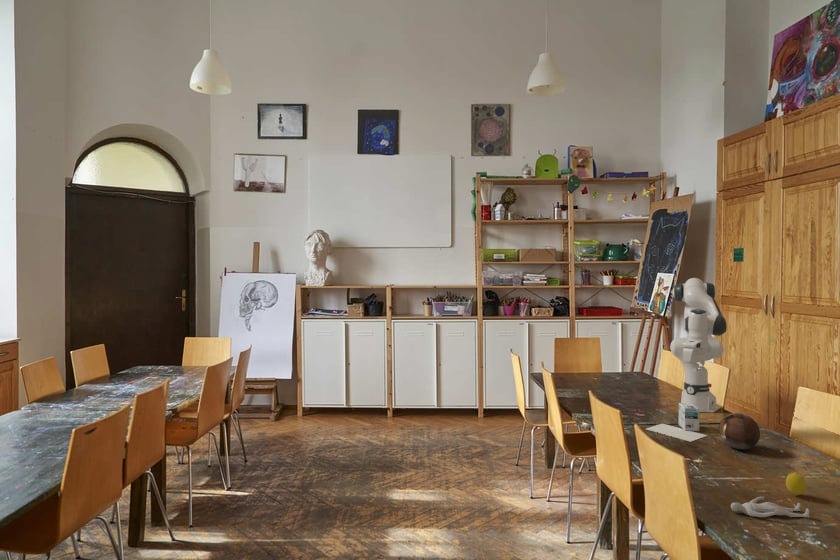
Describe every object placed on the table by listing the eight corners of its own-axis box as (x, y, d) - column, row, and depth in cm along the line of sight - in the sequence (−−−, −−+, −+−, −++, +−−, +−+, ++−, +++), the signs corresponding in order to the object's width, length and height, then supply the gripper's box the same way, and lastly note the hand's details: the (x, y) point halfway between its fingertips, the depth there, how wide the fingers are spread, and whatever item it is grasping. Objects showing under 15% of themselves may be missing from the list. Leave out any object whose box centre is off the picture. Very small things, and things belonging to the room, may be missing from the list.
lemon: (781, 492, 177) (781, 469, 177) (796, 491, 178) (796, 469, 177) (794, 499, 172) (794, 476, 171) (809, 499, 172) (810, 475, 172)
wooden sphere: (754, 444, 225) (754, 410, 225) (764, 456, 211) (765, 420, 210) (715, 440, 230) (715, 407, 229) (723, 452, 216) (723, 417, 215)
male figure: (814, 511, 156) (739, 509, 158) (814, 523, 156) (739, 521, 158) (793, 496, 166) (722, 494, 168) (793, 508, 166) (722, 506, 168)
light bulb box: (699, 431, 242) (700, 409, 242) (684, 430, 243) (684, 408, 243) (692, 425, 252) (692, 403, 252) (677, 424, 254) (678, 402, 254)
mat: (662, 424, 255) (662, 423, 255) (707, 436, 236) (707, 435, 236) (645, 429, 247) (645, 428, 247) (691, 441, 229) (690, 441, 229)
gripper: (702, 340, 260) (702, 367, 260) (680, 343, 249) (680, 372, 249) (715, 341, 255) (715, 369, 255) (693, 345, 243) (693, 374, 244)
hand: (698, 370), depth 252 cm, fingers open, 4 cm apart
